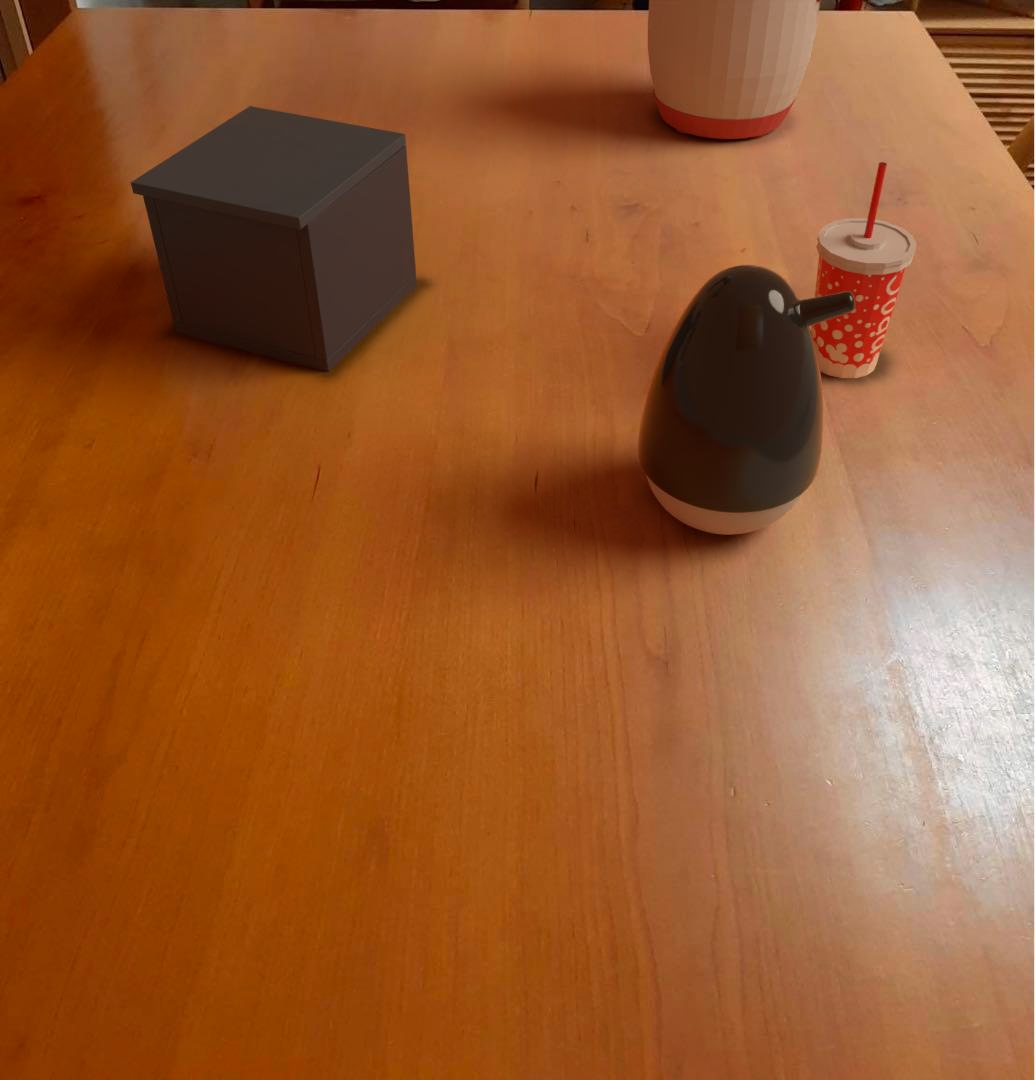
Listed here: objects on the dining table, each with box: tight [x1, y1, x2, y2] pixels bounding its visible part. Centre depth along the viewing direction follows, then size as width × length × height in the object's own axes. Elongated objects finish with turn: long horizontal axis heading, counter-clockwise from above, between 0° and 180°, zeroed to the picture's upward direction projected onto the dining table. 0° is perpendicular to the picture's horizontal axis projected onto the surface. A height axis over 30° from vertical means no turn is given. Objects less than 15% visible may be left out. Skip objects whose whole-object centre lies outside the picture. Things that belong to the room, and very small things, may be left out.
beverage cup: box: [810, 161, 918, 379], centre depth 75 cm, size 6×6×14 cm
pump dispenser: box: [637, 264, 855, 536], centre depth 63 cm, size 10×10×15 cm
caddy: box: [142, 145, 418, 373], centre depth 82 cm, size 13×13×11 cm
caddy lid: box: [130, 105, 407, 229], centre depth 78 cm, size 14×13×1 cm
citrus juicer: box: [647, 0, 822, 140], centre depth 104 cm, size 16×17×20 cm
